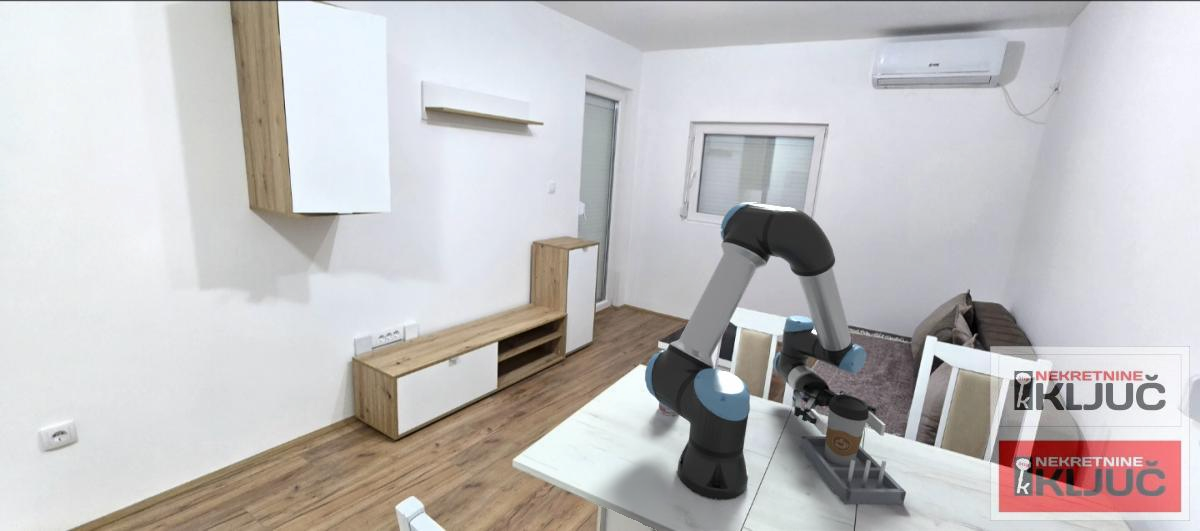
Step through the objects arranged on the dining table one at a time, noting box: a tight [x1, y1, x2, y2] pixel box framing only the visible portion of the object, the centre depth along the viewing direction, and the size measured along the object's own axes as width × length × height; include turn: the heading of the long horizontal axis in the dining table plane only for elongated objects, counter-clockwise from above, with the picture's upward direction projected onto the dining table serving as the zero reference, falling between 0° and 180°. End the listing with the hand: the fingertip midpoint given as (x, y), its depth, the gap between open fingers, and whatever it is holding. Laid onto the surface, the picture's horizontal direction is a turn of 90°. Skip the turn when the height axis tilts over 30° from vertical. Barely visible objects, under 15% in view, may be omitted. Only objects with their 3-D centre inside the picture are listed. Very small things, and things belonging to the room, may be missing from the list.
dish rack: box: [798, 435, 907, 505], centre depth 108 cm, size 20×13×8 cm, turn 4°
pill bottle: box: [658, 401, 678, 416], centre depth 131 cm, size 6×6×11 cm
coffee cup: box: [825, 394, 869, 467], centre depth 111 cm, size 8×8×15 cm
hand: (854, 430), depth 107 cm, fingers open, 13 cm apart
